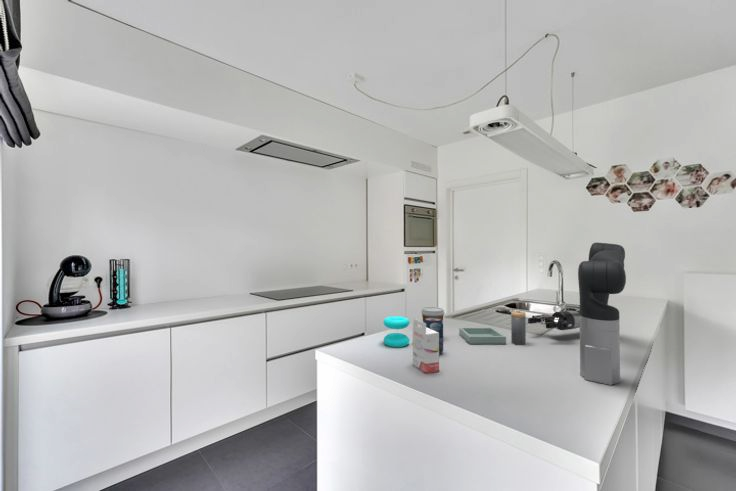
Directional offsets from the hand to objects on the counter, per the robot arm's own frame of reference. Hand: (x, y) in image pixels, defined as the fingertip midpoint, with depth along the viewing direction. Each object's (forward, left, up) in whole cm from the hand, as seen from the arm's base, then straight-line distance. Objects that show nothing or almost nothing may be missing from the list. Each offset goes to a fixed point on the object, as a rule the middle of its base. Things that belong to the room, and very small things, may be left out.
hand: (537, 323), depth 127 cm
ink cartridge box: (-53, +20, -7) cm, 57 cm away
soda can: (-39, +25, -7) cm, 47 cm away
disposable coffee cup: (-23, +34, -7) cm, 42 cm away
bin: (-12, +18, -7) cm, 23 cm away
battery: (-8, +5, -7) cm, 12 cm away
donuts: (-39, +41, -7) cm, 57 cm away
